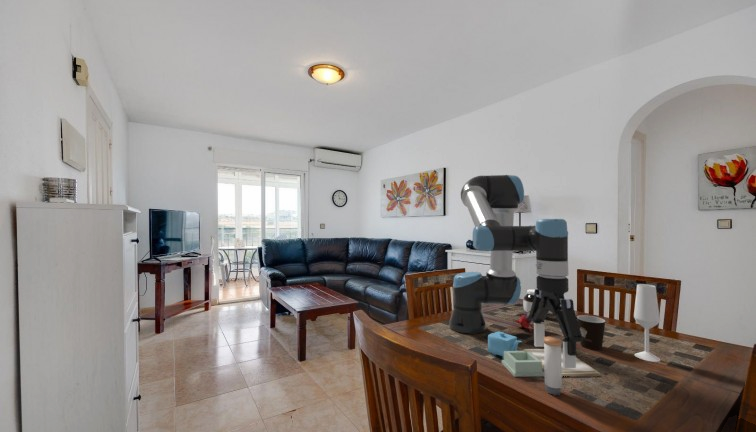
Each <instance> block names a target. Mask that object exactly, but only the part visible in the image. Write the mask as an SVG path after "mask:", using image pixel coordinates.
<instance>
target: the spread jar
mask: <svg viewBox="0 0 756 432" xmlns="http://www.w3.org/2000/svg"><path fill="white" fill-rule="evenodd" d="M526 291H527V292H526V294H525V295H524V297H523V302H522V303H523V306H522V307H523V311H524V313H525V314H526V313H527V312H528V311H530V310H531V307H532V303H533V300H534V293H535V288H534V289H527V290H526Z"/></svg>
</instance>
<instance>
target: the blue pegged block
mask: <svg viewBox="0 0 756 432" xmlns="http://www.w3.org/2000/svg"><path fill="white" fill-rule="evenodd" d="M522 342H523V341H522V340H518V337H517V336H514V335H511V334H508V333H505V332H503V331H496V332H491V333H490V334H488V335H487V351H488V352H489V353H492V356H497V355H498V356H500V357H501V358H502V360H504V351H518V345H519V344H520V343H522Z"/></svg>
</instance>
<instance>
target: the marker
mask: <svg viewBox="0 0 756 432" xmlns="http://www.w3.org/2000/svg"><path fill="white" fill-rule="evenodd" d="M562 346H563V339H560V338H558V337H554V336H545V337H544V348H543V349H544V368H543V369H544V371H543V372H544V373H545V376H544V385H545V392H546V391H547V392H548V393H550V394H549V395H551V394H553V395H552V396H555V395H559V396H561V395H562V388H563V387H562V385H563V384H562V380H563V379H562V378H563V377H562V371H561V349H562ZM547 392H546V393H547ZM548 393H547V394H548ZM560 394H561V395H560Z"/></svg>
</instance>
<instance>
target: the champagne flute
mask: <svg viewBox="0 0 756 432" xmlns="http://www.w3.org/2000/svg"><path fill="white" fill-rule="evenodd" d="M635 292H636V294H635V302H634V312H633V318H634V320H635V321H636V322H637V324H638V325H640V326H641V327H642V328H643V329H644V350H643V351H640V352H637V353H634V356H635V357H636V358H637V359H638V358H639V359H640V360H644V361H646V362H647V361H648V362H652V363H653V362H654V363H656V362H658V363H659V362H661V359H660V358H659V357H658V356H656V355H654V354H653V353H652V352H650V329H652V328H654V327H656V326H657V325H658V324H659V323H660V321H661V317H660V311H659V310H660V309H659V303H658V302H659V301H658V295H657V288H656V286H655V285H652V284H645V283H638V284H637V285H636V291H635Z"/></svg>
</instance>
